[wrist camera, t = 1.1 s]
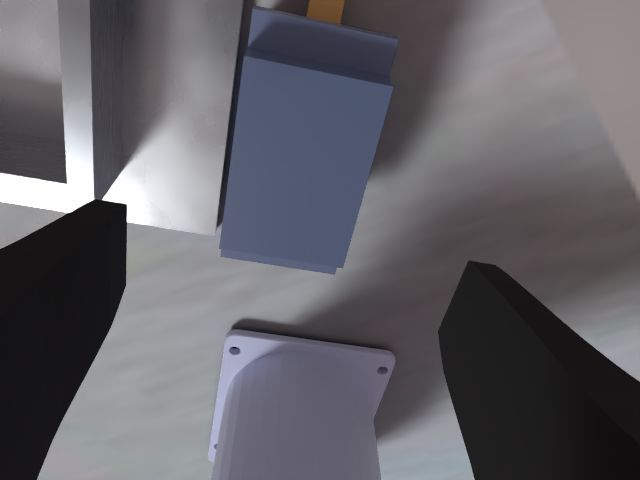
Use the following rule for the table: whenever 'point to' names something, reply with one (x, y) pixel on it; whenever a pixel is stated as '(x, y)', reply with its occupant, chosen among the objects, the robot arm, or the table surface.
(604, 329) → the table surface
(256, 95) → the blue-grey long block
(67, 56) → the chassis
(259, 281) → the table surface
